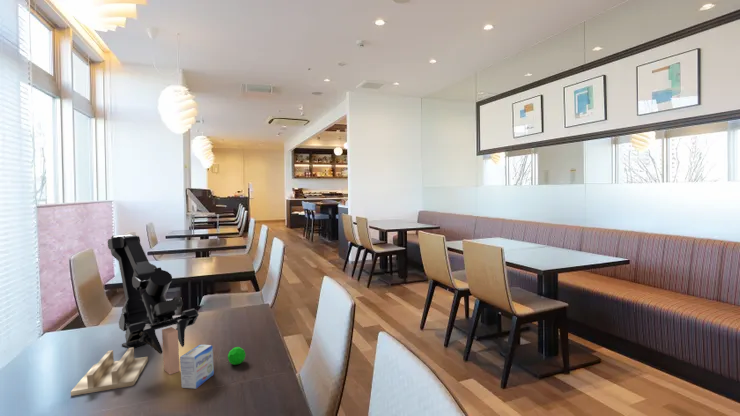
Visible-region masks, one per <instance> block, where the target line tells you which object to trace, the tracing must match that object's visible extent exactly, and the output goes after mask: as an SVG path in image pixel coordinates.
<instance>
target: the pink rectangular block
mask: <svg viewBox="0 0 740 416" xmlns="http://www.w3.org/2000/svg"><path fill="white" fill-rule="evenodd" d="M161 334H162V335H161V338H162V356H163V357H162V358H163V359H162V360H163V371H164V372H166V373H167V374H169V375H173V374H175V373H176V374H177V373H178V372H179V373H180V372H181V367H180V353H179V349H180V346H179V340H178V330H176V328H174V327H172V326H169V327H165V328H164V329H161Z"/></svg>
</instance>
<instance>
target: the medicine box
mask: <svg viewBox="0 0 740 416" xmlns="http://www.w3.org/2000/svg"><path fill="white" fill-rule="evenodd" d="M213 349H214V348H213V344H212V345H211V344H198V345H197V346H195V347H193V348H191V349H190V350H189V351H187V352H186V353H184V354H183V355H181V356H179V368H180V380H181V381H180V382H181V384H180V385H181V388H182V389H183V388H184V389H192V390H193V389H194V390H196V389H198V388H199V387H201V386H202V385H204V383H205V382H206V381H208V380H209V379H210V378H211V377H213V376H214V375H215V374H214V372H215V371H214V370H215V369H214V353H213V352H214V350H213Z"/></svg>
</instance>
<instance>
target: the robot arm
mask: <svg viewBox="0 0 740 416" xmlns="http://www.w3.org/2000/svg"><path fill="white" fill-rule="evenodd" d="M107 247H108V249H109V250H110V253H111V256H112V257H114V259H116V260H117V261H118V266H119V271H120V276H121V281H122V286H123V287H122V288H123V291H124V292H123V293H124V296H125V297H124V298H125V301H124V304H123V307H122V308H121V314H120V317H119V320H118V326H119V327H118V328H119V329H120V330H121V331H122V332H125V334H124V338H125V342H124V343H121V346H122V347H125V348H128V349H129V348H132V347H134V349H135V348H137V347H141V346H144V345H145V344H147V345H148V346H150V347H151V348H152V349H153V350H155V351H156V352H157V353H158V354H159V355H163V347H162V346H161V344H160V341H159V338H158V336H157V334H156V333H157V332H156V330H159V329H162V328H168V327H172V326H174V325H175V326H176V328H175V329H176V330H178V343H179V345H180V346H181V348H183V347H185V333H186V331H185V330H186V329H187V327H190V326H192V325H194V324H195V323H196V321H197V320H198V317H199V316H200V314H199V311H198V310H197V309H195V308H190V309H186V310H183V311H182V312H181V314H180V315H179V316H176V317H174V316H175V315H176V311H178V308H181V307H183V305H184V302H183V299H182V297H181V295H179V296H174V297H172V299H169V300H167V298H166V296H165V294H166V293H167V292H168V290H169V287H170V284H171V283H172V280H173V276H172V274H171V273H170V272H169V271H168V270H167V271H166V270H163V269H162V267H161V266H160V267H157V266H156V265H155V264H152V263H150V261H149V260H148V257H147V255H146V253H145V251H144V248H143V246H142V244H141V237H140V236H139V235H137V234H135V235H134V234H132V233H131V234H129V233H128V234H119V235H112V236H111V237H110V239H107ZM141 291H143V292H142V293H141Z"/></svg>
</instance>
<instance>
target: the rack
mask: <svg viewBox="0 0 740 416" xmlns="http://www.w3.org/2000/svg"><path fill="white" fill-rule="evenodd" d="M148 361H149V356H147V355H146V356H143V357H135V348H134V347H132V348H129V347H128V349H127V350H126V351H125V353H124V354H123V355H122V356H121V358H120V359H119V360H114V350H107V352H106V353H105V354H104V355H103V356H102V357H101V358H100V359H99V361H98V362H97V363H94V364H93V365H92V366H91V367H90V369H89V370H88V371H87V372H86V373H85V375H84V376H83V377H82V378H81V379H80V380H79V381H78V383H77V384H76V385H75V386H74V387H73V388H72V390H70V396H71V397H73V396H78V395H80V396H81V395H86V394H90V393H95V392H97V393H99V392H103V391H104V392H105V391H108V390H114V389H120V388H121V389H122V388H127V387H133V386H135V384H136V382H137V380H138V378H139V377H140V376H141V373H142V372H143V370H144V368H145V367H146V365H147V363H148Z"/></svg>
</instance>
